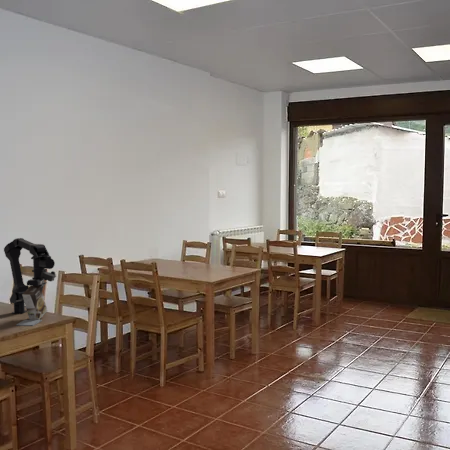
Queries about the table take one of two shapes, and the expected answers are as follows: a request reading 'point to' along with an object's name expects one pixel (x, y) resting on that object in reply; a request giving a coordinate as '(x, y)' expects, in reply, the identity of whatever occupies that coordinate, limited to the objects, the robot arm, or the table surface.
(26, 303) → the coffee box
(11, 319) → the table surface
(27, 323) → the mat
